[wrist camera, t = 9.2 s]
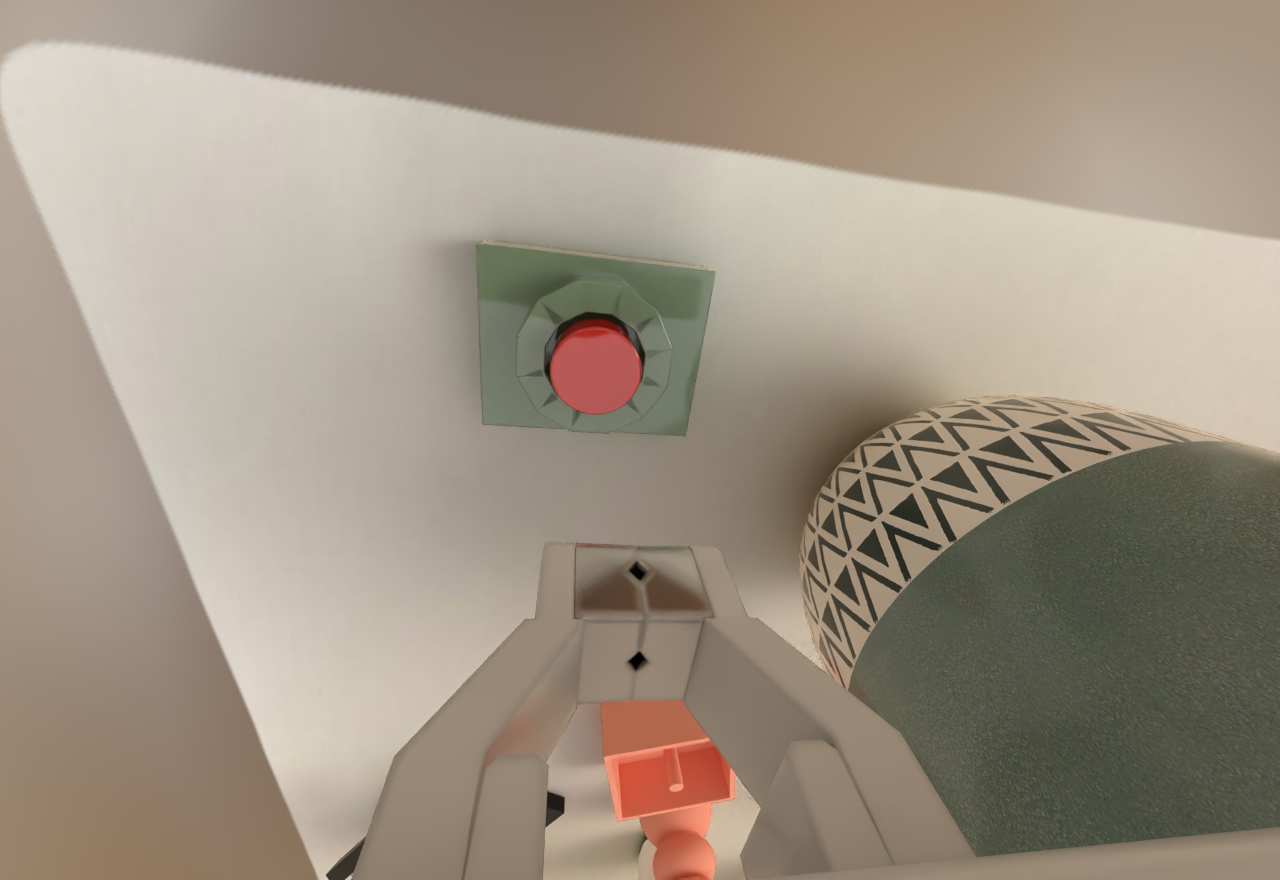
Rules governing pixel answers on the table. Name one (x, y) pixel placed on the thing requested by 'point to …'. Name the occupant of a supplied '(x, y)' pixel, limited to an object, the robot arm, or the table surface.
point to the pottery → (666, 781)
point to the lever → (346, 863)
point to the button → (595, 367)
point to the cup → (646, 861)
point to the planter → (1060, 617)
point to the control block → (577, 290)
